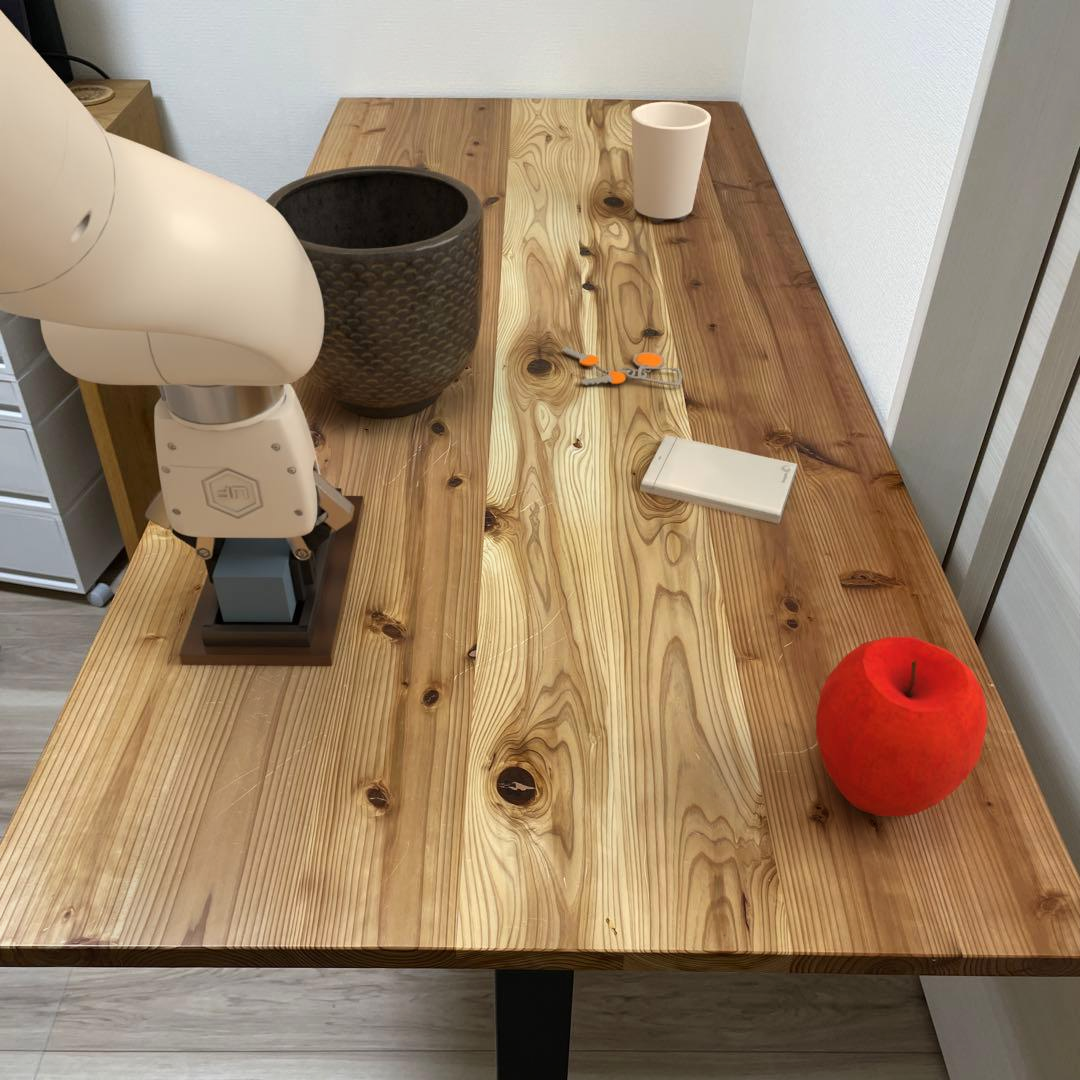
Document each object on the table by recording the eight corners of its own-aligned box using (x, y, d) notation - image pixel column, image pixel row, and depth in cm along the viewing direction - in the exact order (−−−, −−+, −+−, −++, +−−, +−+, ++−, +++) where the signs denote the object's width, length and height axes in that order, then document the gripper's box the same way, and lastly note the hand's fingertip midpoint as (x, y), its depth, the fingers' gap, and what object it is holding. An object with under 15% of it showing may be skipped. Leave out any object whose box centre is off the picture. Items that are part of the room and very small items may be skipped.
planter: (262, 438, 100) (226, 246, 88) (319, 334, 115) (295, 158, 103) (470, 454, 98) (462, 261, 86) (500, 346, 113) (497, 169, 101)
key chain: (683, 356, 112) (683, 349, 111) (681, 394, 106) (682, 387, 106) (562, 347, 113) (562, 340, 113) (554, 384, 108) (554, 377, 107)
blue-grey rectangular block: (243, 559, 84) (233, 514, 81) (307, 559, 84) (299, 514, 81) (223, 622, 78) (211, 576, 75) (291, 622, 78) (282, 577, 75)
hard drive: (798, 462, 96) (666, 431, 100) (781, 514, 91) (640, 480, 94) (795, 476, 98) (664, 446, 101) (777, 529, 92) (639, 495, 95)
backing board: (332, 665, 78) (328, 641, 76) (181, 664, 78) (174, 640, 76) (364, 504, 93) (361, 481, 91) (237, 503, 92) (232, 480, 91)
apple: (928, 728, 74) (976, 601, 66) (977, 852, 67) (1038, 725, 59) (785, 731, 74) (817, 603, 66) (819, 856, 66) (859, 728, 58)
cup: (663, 236, 135) (673, 134, 127) (609, 211, 140) (614, 112, 132) (715, 215, 140) (727, 116, 132) (661, 192, 146) (669, 96, 137)
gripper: (71, 411, 66) (139, 622, 78) (347, 414, 66) (373, 623, 78) (108, 349, 72) (166, 554, 83) (362, 352, 72) (384, 556, 84)
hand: (266, 586), depth 81 cm, fingers closed on blue-grey rectangular block, 4 cm apart
